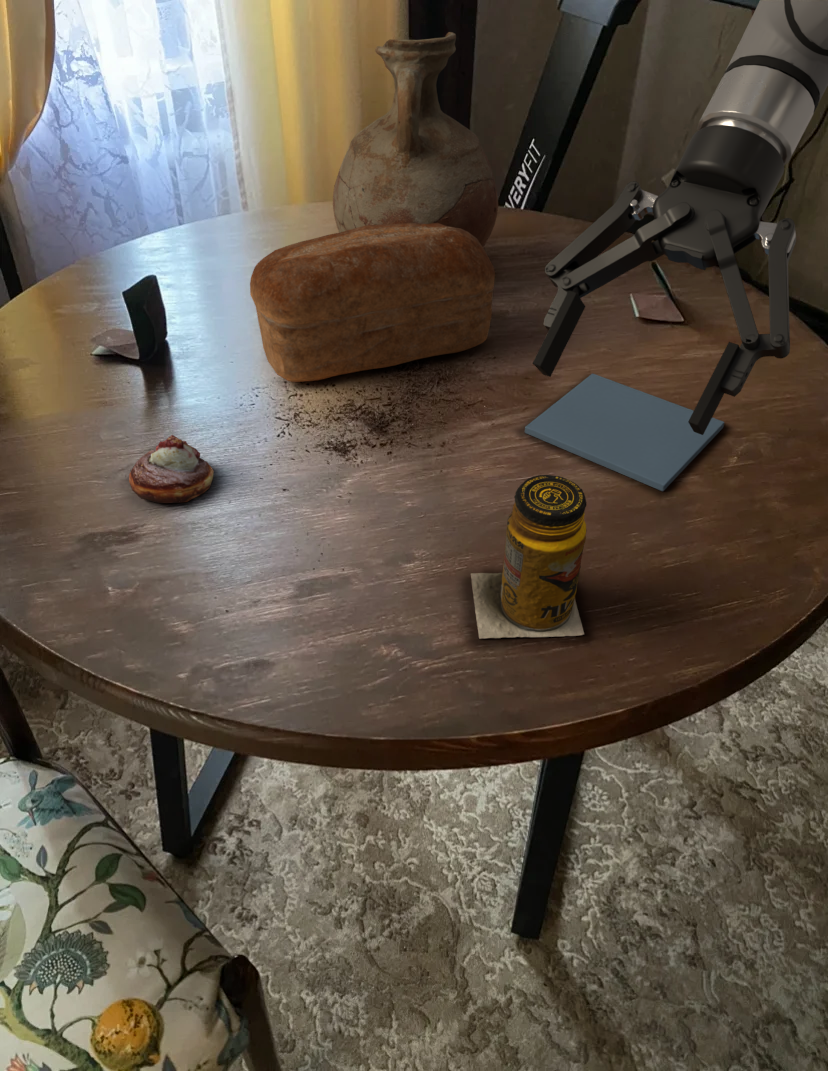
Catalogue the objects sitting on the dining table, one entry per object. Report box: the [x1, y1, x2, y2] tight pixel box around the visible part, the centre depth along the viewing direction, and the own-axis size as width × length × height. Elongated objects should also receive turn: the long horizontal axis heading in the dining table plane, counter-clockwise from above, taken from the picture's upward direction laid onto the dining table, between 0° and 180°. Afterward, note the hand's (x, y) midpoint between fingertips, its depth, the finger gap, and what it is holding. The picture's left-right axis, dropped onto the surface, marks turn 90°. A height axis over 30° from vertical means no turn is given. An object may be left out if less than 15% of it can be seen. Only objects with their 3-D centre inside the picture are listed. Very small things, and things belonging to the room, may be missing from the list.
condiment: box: [470, 474, 588, 640], centre depth 66 cm, size 7×8×12 cm
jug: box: [332, 31, 499, 248], centre depth 107 cm, size 22×22×30 cm
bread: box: [249, 223, 496, 383], centre depth 97 cm, size 12×28×14 cm, turn 111°
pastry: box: [128, 434, 215, 504], centre depth 81 cm, size 8×8×5 cm
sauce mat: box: [524, 373, 725, 492], centre depth 89 cm, size 16×14×1 cm
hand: (614, 398), depth 66 cm, fingers open, 13 cm apart
